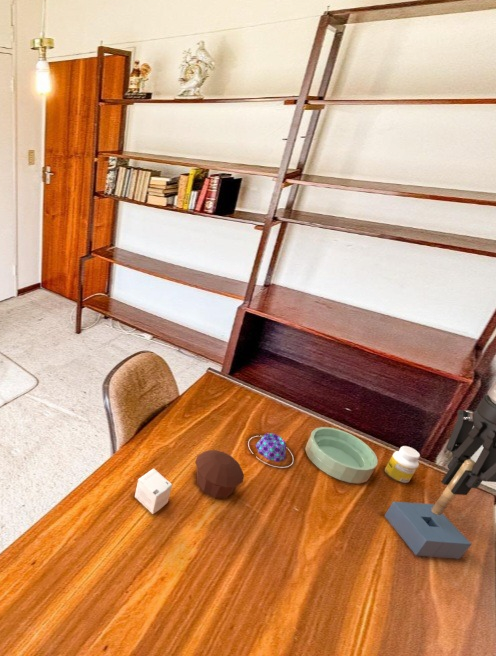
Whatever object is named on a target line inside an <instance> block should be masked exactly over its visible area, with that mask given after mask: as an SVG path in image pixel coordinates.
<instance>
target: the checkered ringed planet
mask: <svg viewBox="0 0 496 656" xmlns="http://www.w3.org/2000/svg"><path fill="white" fill-rule="evenodd" d="M256 437H258V435H255V436H252V437H251V438H250V439H249V440H248V442H247V445H248V449H249V450H250V453H253V451H252V450H251V448H250V441H251V440H252V439H254V438H256ZM255 448H256V449H257V453H258V454H259V455H261V456H263V457H264V458H265V459H267V460H269V461H273V462H275V463H280V462H281V461H285V460H286V455H287V454H286V453H287V451H286V449H287V450H288V452H289V453H290V454H291V456H292V462H291V464H290V465H288V466H287V465H286V466H279V468H281V469H283V468H289V467H291V466H292V465H293V464H294V461H295V460H294V459H295V458H294V455H293V453H292V451H291V450H290V449H289V447H287V443H286V441H285V440H284V439H283V437H281V436H280V435H277V434H275V433H272V432H271V433H269V432H267V433H265V434H264V435H262V436H261V438H260V439H259V440H258V441H257V442H256V444H255ZM257 459H258V460H259V461H261V462H262V463H264V464H265V465H269V466H271V467H274V468H277V466H276V465H272V464H269V463H267V462H265V461H263V460H261V459H260V458H258V457H257Z"/></svg>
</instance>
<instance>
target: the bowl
mask: <svg viewBox="0 0 496 656" xmlns="http://www.w3.org/2000/svg"><path fill="white" fill-rule="evenodd" d="M304 450H305V452H306V456H307V457H308V459H309V461H311V463H312V464H313V465H315V466H316V467H317V469H319V470H320V471H322V472H323V473H324V474H327V475H328V476H330V477H332V478H335V479H337V480H339V481H342V482H345V483H349V484H363V483H367V482H368V480H369V479H370V478H371V477H372V476H373V474H374V471H375V470H376V468H377V466H378V462H379V460H378V459H379V458H378V457H377V454H376V452H375V451H374V450H373V449H372V448H371V447H370V446H369V445H368V444H367V443H365V442H364V441H363V440H362V439H360V438H358V437H357V436H355V435H353V434H351V433H350V432H347V431H344V430H342V429H339V428H336V427H335V428H334V427H331V426H330V427H329V426H328V427H327V426H320V427H316V428H315V429H313V430H312V431H311V433H310V435H309V437H308V439H307V442H306V444H305V448H304Z"/></svg>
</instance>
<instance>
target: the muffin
mask: <svg viewBox="0 0 496 656" xmlns="http://www.w3.org/2000/svg"><path fill="white" fill-rule="evenodd" d="M195 465H196V484H197V485H198V486H199V488H200V489H201V491H202V492H203V493H204V494H207V495H208V496H210V497H212V498H214V499H224V500H226V499H227V498H228V497H229V496H230V495H232V494H233V493H234V492H235V490H236V488H237V487H238V486H240V485H241V484H242V483H243V482H244V478H245V474H244V471H243V469H242V467H241V465H240V463H239V462H238V460H236V459H235V458H234V457H233V456H231V455H230V454H228V453H226V452H224V451H221V450H217V449H214V450H213V449H212V450H211V449H209V450H205V451H203V452H201V453H199V454H197V456H196V459H195Z"/></svg>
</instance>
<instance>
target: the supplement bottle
mask: <svg viewBox="0 0 496 656" xmlns="http://www.w3.org/2000/svg"><path fill="white" fill-rule="evenodd" d="M420 458H421V454H420V452H419V451H417V450H416V449H415V448H413V447H410V446H407V445H402V446H400V448H399V450H397V451H394V452H393V453H392V455H391V457H390V459H389V461H388V462H387V464H386V466H385V468H384V473H385V474H386V475H387V476H388V477H389V478H390V479H391V480H393V481H395V482H398V483H400V484H408V483H410V480H411V479H412V477H413V476H414V475H415V473H416V471H417V470H418V468H419V466H420V462H419V459H420Z"/></svg>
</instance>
